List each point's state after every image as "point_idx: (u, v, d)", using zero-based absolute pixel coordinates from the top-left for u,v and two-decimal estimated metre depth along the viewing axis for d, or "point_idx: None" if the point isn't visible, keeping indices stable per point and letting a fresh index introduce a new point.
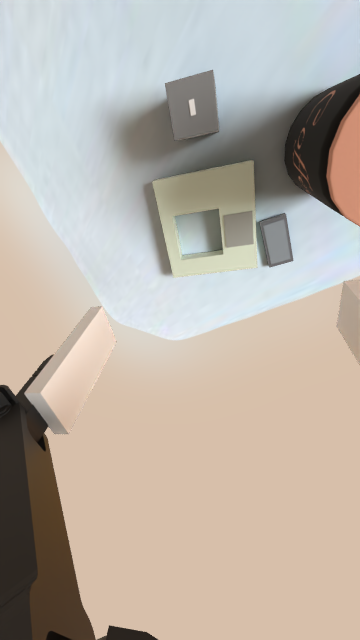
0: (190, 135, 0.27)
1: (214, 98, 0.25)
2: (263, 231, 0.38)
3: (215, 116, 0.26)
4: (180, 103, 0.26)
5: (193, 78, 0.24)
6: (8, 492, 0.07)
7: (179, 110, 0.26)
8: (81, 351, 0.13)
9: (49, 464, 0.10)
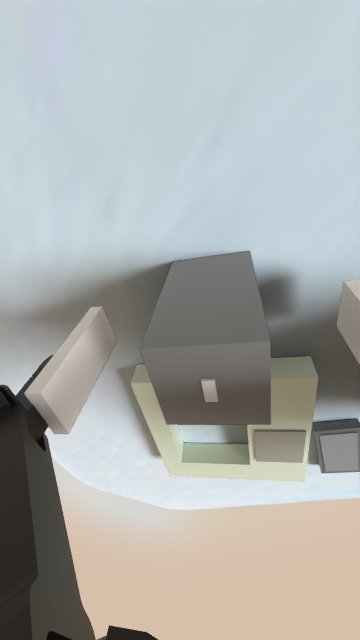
0: (203, 423, 0.12)
1: (267, 384, 0.10)
2: (318, 440, 0.23)
3: (266, 407, 0.10)
4: (181, 381, 0.10)
5: (214, 348, 0.09)
6: (8, 492, 0.07)
7: (176, 390, 0.11)
8: (81, 351, 0.13)
9: (49, 464, 0.10)
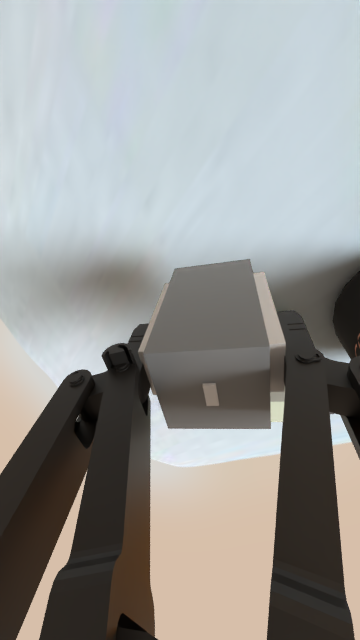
0: (204, 427, 0.12)
1: (267, 388, 0.10)
2: None
3: (266, 411, 0.11)
4: (183, 385, 0.10)
5: (216, 353, 0.09)
6: (112, 449, 0.08)
7: (179, 394, 0.11)
8: None
9: (147, 429, 0.11)
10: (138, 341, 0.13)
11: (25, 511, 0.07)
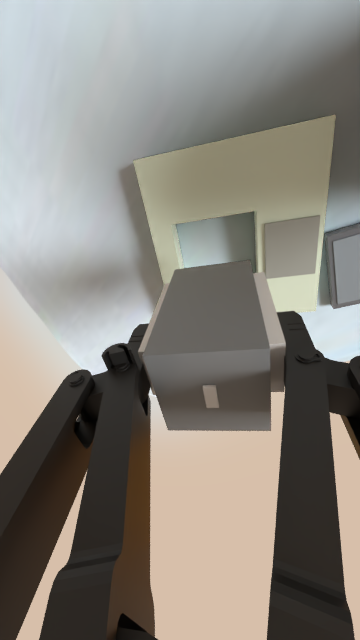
0: (204, 429, 0.12)
1: (267, 390, 0.10)
2: (331, 251, 0.22)
3: (266, 413, 0.11)
4: (182, 387, 0.10)
5: (216, 355, 0.09)
6: (112, 449, 0.08)
7: (179, 396, 0.11)
8: None
9: (147, 429, 0.11)
10: (138, 341, 0.13)
11: (25, 511, 0.07)
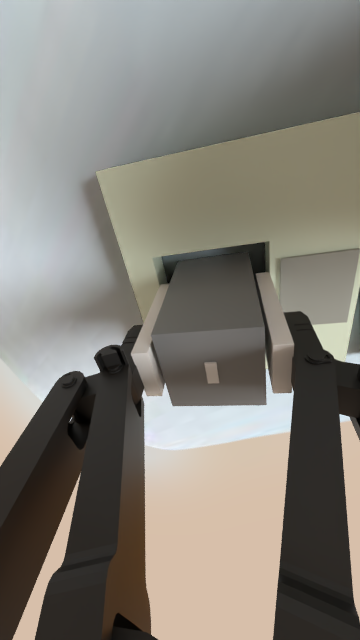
0: (206, 404, 0.13)
1: (262, 366, 0.11)
2: None
3: (261, 388, 0.12)
4: (186, 364, 0.12)
5: (216, 334, 0.10)
6: (106, 450, 0.08)
7: (182, 373, 0.12)
8: None
9: (141, 430, 0.11)
10: (132, 342, 0.13)
11: (19, 513, 0.07)
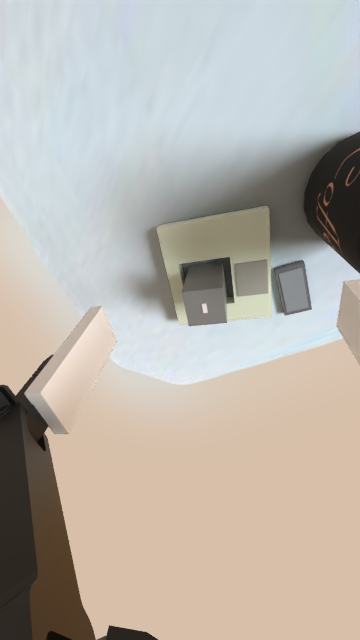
0: (202, 324, 0.31)
1: (223, 304, 0.29)
2: (278, 279, 0.34)
3: (224, 314, 0.30)
4: (194, 304, 0.30)
5: (205, 291, 0.29)
6: (8, 492, 0.07)
7: (193, 309, 0.30)
8: (81, 351, 0.13)
9: (49, 464, 0.10)
10: None
11: None
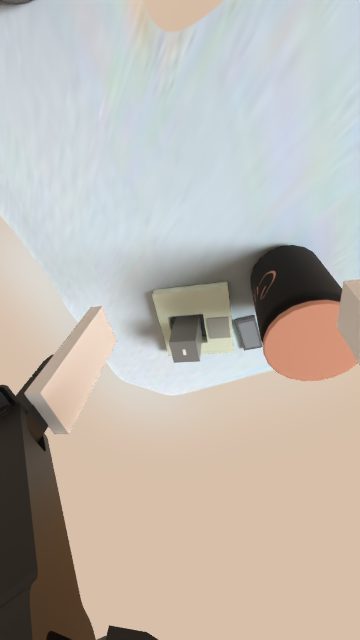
0: (183, 361, 0.46)
1: (196, 350, 0.44)
2: (238, 327, 0.49)
3: (197, 356, 0.45)
4: (177, 349, 0.44)
5: (184, 342, 0.43)
6: (8, 492, 0.07)
7: (176, 352, 0.45)
8: (81, 351, 0.13)
9: (49, 464, 0.10)
10: None
11: None
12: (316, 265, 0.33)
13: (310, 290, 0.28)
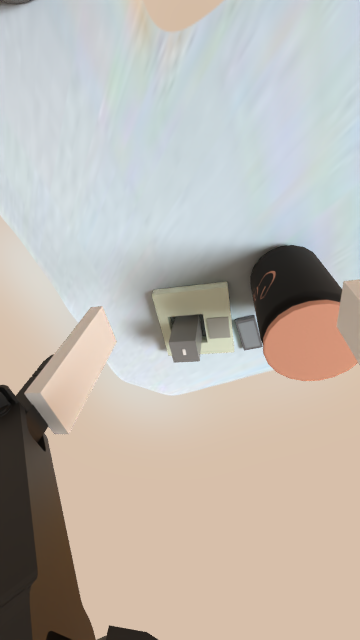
0: (183, 361, 0.46)
1: (196, 350, 0.44)
2: (238, 327, 0.49)
3: (197, 356, 0.45)
4: (177, 349, 0.44)
5: (184, 342, 0.43)
6: (8, 492, 0.07)
7: (176, 352, 0.45)
8: (81, 351, 0.13)
9: (49, 464, 0.10)
10: None
11: None
12: (316, 265, 0.33)
13: (310, 290, 0.28)
